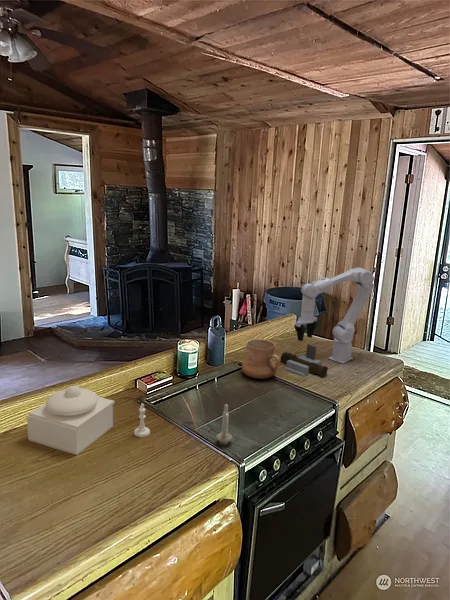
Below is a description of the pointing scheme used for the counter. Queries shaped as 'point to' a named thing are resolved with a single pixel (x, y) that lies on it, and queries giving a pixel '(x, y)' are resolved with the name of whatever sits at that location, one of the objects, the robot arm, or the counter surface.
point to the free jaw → (310, 355)
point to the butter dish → (70, 420)
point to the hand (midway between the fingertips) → (304, 338)
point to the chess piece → (142, 424)
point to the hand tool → (312, 366)
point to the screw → (224, 428)
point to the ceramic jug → (260, 359)
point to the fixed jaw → (297, 368)
